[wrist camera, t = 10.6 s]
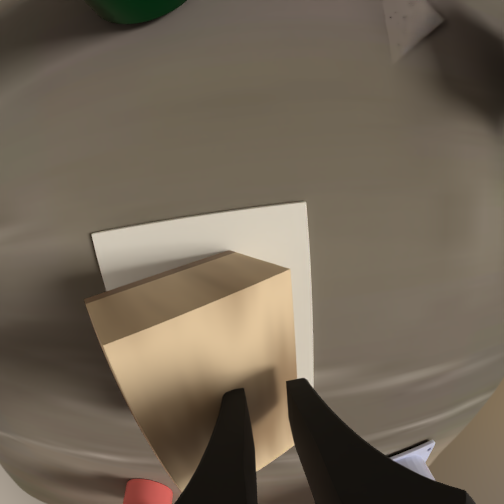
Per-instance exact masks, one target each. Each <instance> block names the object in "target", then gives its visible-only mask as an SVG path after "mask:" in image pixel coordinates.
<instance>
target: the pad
mask: <svg viewBox="0 0 504 504" xmlns="http://www.w3.org/2000/svg"><path fill="white" fill-rule="evenodd" d="M91 235H92V239H93V243H94V247H95V251H96V255H97V259H98V263H99V267H100V271H101V274H102V278H103V281H104V285H105V288H106V291H109V290H112V289H115V288H118V287H121V286H124V285H127V284H130V283H132V282H135V281H138V280H141V279H144V278H147V277H150V276H153V275H156V274H159V273H162V272H165V271H168V270H171V269H174V268H177V267H180V266H183V265H186V264H189V263H192V262H195V261H198V260H201V259H204V258H207V257H210V256H213V255H216V254H219V253H222V252H225V251H228V250H231V251H234V252H237V253H240V254H243V255H247V256H250V257H253V258H256V259H260V260H263V261H266V262H269V263H273V264H276V265H279V266H282V267H286V268H289V269H290V270H291V283H292V297H293V312H294V328H295V345H296V365H297V379H299V378H305V379H307V380H308V382H309V383H310V385H311V386H312V387H313V316H312V288H311V267H310V250H309V234H308V220H307V207H306V202H305V201H301V202H292V203H283V204H275V205H267V206H259V207H251V208H243V209H236V210H229V211H222V212H214V213H208V214H201V215H194V216H187V217H181V218H175V219H168V220H162V221H156V222H150V223H144V224H138V225H132V226H127V227H121V228H116V229H110V230H105V231H99V232H94V233H92V234H91Z"/></svg>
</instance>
